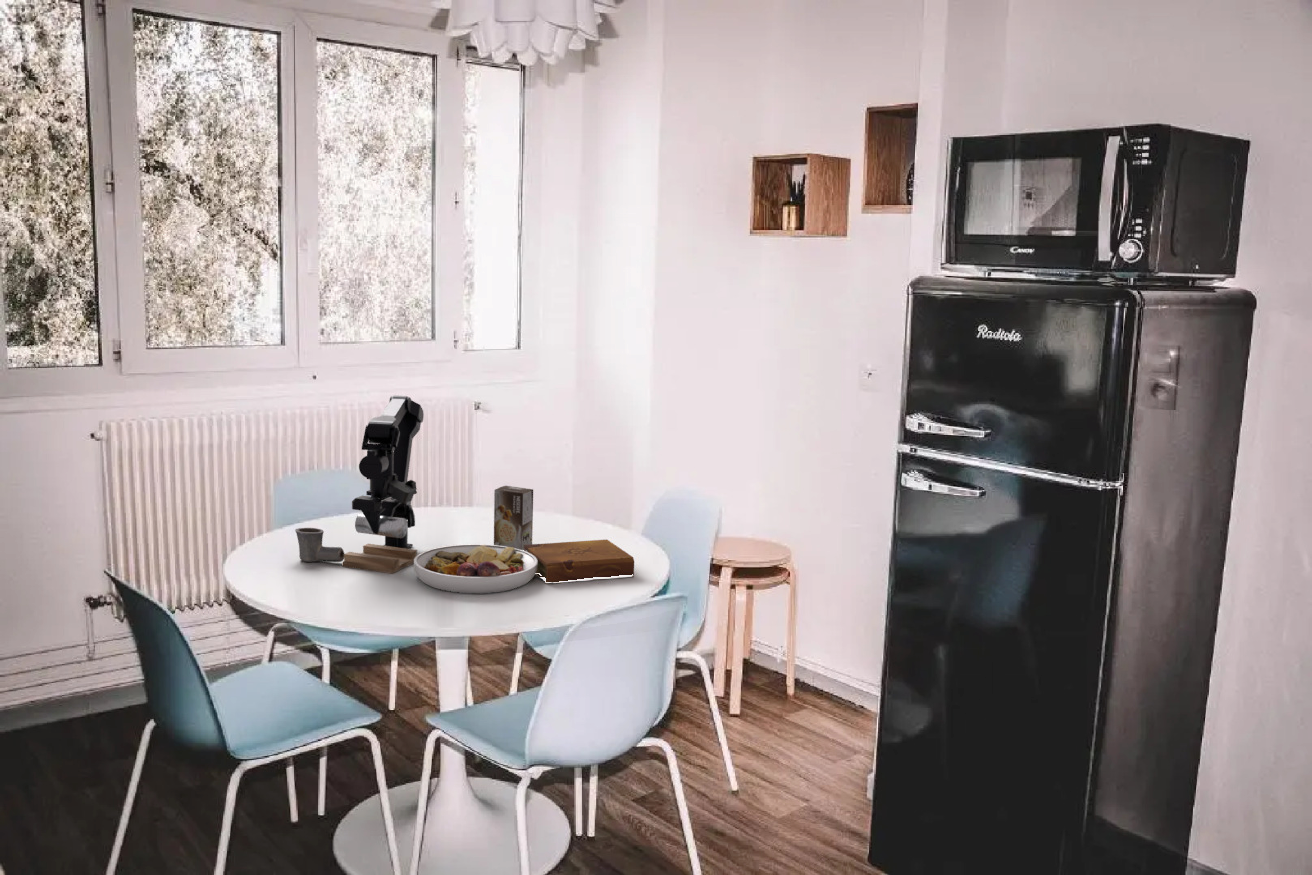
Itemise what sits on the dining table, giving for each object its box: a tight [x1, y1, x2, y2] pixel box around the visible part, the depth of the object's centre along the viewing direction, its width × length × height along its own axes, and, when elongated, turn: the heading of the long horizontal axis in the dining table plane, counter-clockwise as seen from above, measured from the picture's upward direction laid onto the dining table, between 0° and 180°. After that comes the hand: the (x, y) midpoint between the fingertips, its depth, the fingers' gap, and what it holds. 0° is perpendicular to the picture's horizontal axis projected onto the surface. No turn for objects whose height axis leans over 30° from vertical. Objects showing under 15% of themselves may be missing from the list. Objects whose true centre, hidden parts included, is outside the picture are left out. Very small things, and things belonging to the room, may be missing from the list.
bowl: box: [413, 543, 538, 594], centre depth 290 cm, size 30×30×8 cm
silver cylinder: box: [354, 512, 408, 538], centre depth 297 cm, size 5×12×5 cm, turn 73°
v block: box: [342, 543, 418, 575], centre depth 299 cm, size 13×14×3 cm
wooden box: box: [524, 539, 635, 582], centre depth 301 cm, size 23×19×6 cm
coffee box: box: [493, 485, 534, 551], centre depth 320 cm, size 9×6×16 cm
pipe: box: [294, 527, 345, 563], centre depth 298 cm, size 6×13×8 cm, turn 78°
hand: (381, 531), depth 298 cm, fingers closed on silver cylinder, 5 cm apart
